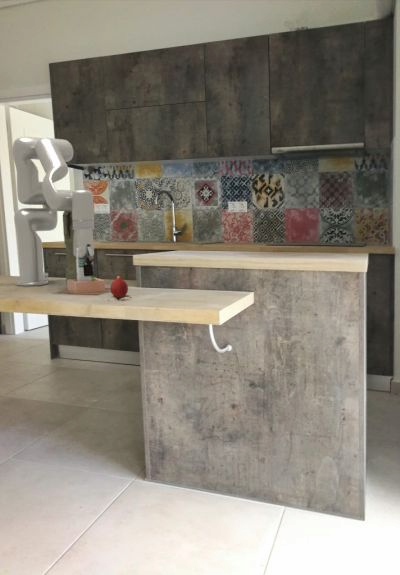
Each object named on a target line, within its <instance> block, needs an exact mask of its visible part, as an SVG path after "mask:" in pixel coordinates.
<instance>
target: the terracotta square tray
mask: <svg viewBox="0 0 400 575" xmlns="http://www.w3.org/2000/svg"><path fill="white" fill-rule="evenodd" d="M66 287H67V289H68V291H70V292H73V293H75V294H81V293H93V292H105V288H106V282H105V279H101V278H98V277H94V281H84V282H78V281H77V279H68V280H67V282H66ZM67 289H66V290H67Z"/></svg>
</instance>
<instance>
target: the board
mask: <svg viewBox="0 0 400 575" xmlns="http://www.w3.org/2000/svg"><path fill="white" fill-rule="evenodd" d="M110 289H111V287H105V292H93V293H81V294H75V293H73V292H70V291H68V289H64V290H60V291H55V292H53V293H51V295H69V296H70V295H71V296H73V295H74V296H100V295H104V294H106V293H109V292H110V293H111V290H110Z"/></svg>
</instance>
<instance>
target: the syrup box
mask: <svg viewBox="0 0 400 575" xmlns="http://www.w3.org/2000/svg"><path fill="white" fill-rule="evenodd" d="M76 250H77V256H76V268H77V281H78V282H84V281H94V278H95V271H94V264H93V276H84V266H83V265H85V264H84V259H83V257H79V253H78V248H77V249H76ZM85 256H88V255H85ZM86 260H87V259H86ZM92 261H93V262H94V259H93V260H92Z"/></svg>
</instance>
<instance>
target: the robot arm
mask: <svg viewBox="0 0 400 575" xmlns="http://www.w3.org/2000/svg"><path fill="white" fill-rule="evenodd" d="M11 148H12V150H11V151H12V153H11V154H12V158H13V161H14V165H15V170H16V189H17V190H16V192H17V200H18V201H19V203H20V204H21V205H25V206H26V205H27V206H28V205H29V206H32V205H34V206H42V207H25V208H20V209H18V210H17V211H15V213H14V216H13V218H14V219H13V220H14V224H15V229H16V234H17V243H18V244H17V245H18V263H19V264H18V266H19V279H20V280H18V281H16V285H17V286H25V287H26V286H27V287H28V286H30V287H31V286H43V285H47V284H48V283H49V281H48V279H46V278H48V277H49V273H48V272H44V271H45V270H44V256H43V252H44V251H43V241H42V238H41V237H40V236H39V234H38V233H37V232H47V231H48V232H49V231H53V230H55V229H56V228H57V226H58V212H64V211H72V222H73V230H74V237H73V254H74V256H77V250H76V249H77V248H78V253H79V257H83V259H84V264H85V265H83V266H84V276H93V265H94V256H95V246H94V244H95V243H94V234H93V233H94V231H93V230H95V219H94V218H95V216H94V214H95V212H94V194H93V192H92V191H91V190H88V189H87V190H85V189H78V190H77V189H76V190H71V189H69V190H66V189H56V187H55V184H54V183H56V182H59V181H60V180H62V179H63V178H65V177H66V176H67V175H68V173H69V167H68V165H67V164H68V162H70V161H72V159H73V158H74V148H73V145H72V144H71V142H69V140H67V139H62V138H61V139H60V138H54V137H53V138H51V137H50V138H49V137H42V138H41V137H35V136H34V137H32V136H20V137H18V138H16V139H15V140H14V141H13V144H12V147H11ZM33 160H38V161H39V163H40V164H41V166H42V168H43V171H44V173H45V175H44V177H43V180H42V181H40V180H39V179H40V178H39V169H38V167H37V165H36V163H35V162H34V161H33ZM66 162H67V163H66ZM85 255H88V256H85ZM86 259H87V260H86ZM92 260H93V261H92Z"/></svg>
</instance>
